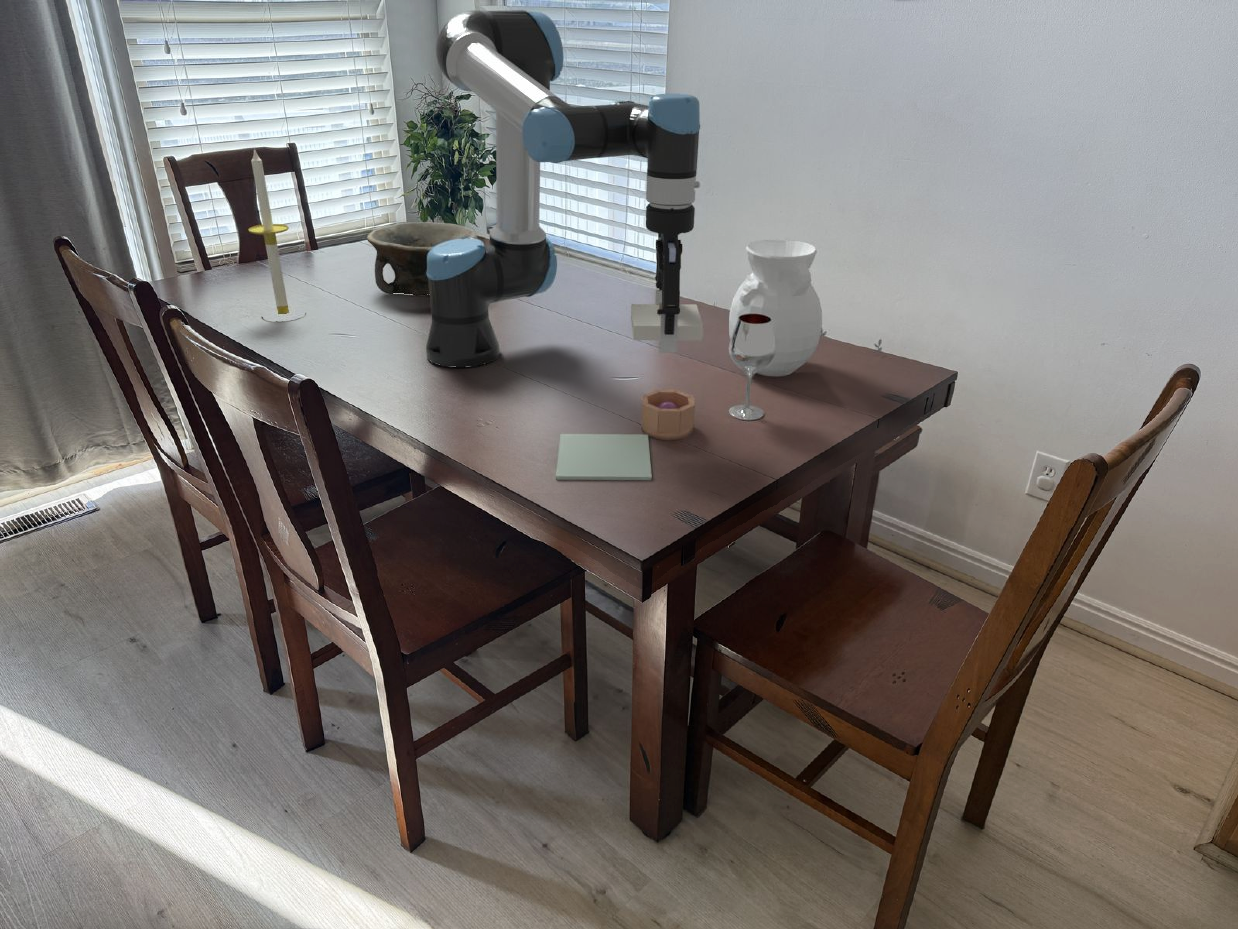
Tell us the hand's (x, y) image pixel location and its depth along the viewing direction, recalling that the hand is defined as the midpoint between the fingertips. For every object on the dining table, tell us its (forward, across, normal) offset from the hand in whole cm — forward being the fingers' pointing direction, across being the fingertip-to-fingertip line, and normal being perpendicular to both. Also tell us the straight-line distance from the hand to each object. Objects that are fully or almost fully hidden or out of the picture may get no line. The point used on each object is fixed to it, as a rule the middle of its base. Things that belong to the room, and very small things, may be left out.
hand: (665, 339), depth 143 cm
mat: (+17, -10, +10) cm, 22 cm away
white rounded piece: (+17, +30, -24) cm, 42 cm away
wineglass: (+17, +8, -16) cm, 25 cm away
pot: (+17, +1, -1) cm, 17 cm away
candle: (+17, +62, +85) cm, 107 cm away
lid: (-2, 0, 0) cm, 2 cm away
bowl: (+17, +83, +55) cm, 101 cm away
